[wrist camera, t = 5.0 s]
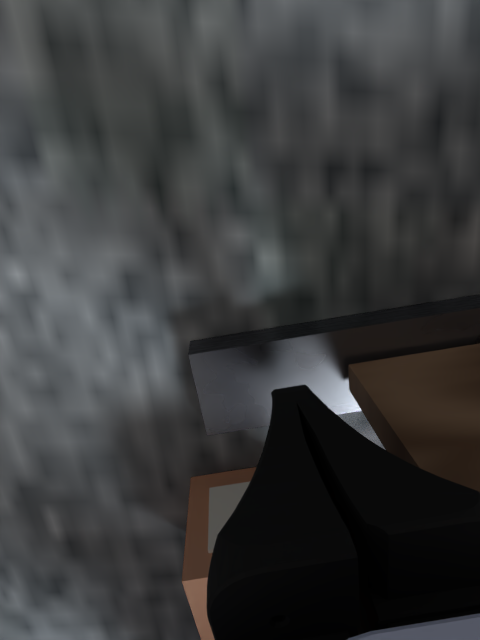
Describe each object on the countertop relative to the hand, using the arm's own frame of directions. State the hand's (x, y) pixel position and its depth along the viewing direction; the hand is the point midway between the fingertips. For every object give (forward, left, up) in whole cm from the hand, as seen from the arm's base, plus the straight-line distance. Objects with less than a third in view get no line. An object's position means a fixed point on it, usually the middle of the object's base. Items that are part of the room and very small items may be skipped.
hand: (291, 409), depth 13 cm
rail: (+6, -5, -3) cm, 9 cm away
